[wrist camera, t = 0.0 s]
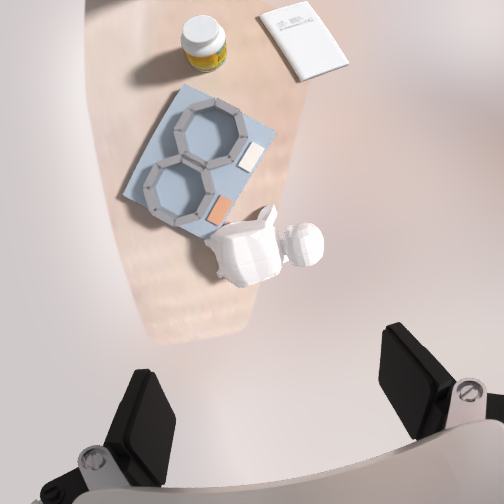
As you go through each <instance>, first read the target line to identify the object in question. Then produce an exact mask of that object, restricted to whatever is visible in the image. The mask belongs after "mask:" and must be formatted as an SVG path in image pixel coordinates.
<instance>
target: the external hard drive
mask: <svg viewBox="0 0 504 504" xmlns="http://www.w3.org/2000/svg"><path fill="white" fill-rule="evenodd" d="M259 18H260V20H261V21H262V22H263V24H264V25H265V27H266V28H267V30H268V31H269V33H270V34H271V35H272V37H273V38H274V40H275V41H276V43H277V45H278V46H279V48H280V49H281V51H282V52H283V54H284V55H285V57H286V58H287V60H288V62H289V63H290V65H291V66H292V68H293V70H294V71H295V73H296V75H297V76H298V78H299V80H300V81H301V82H303V81H306V80H308V79H312V78H315V77H317V76H320V75H323V74H325V73H328V72H331V71H334V70H337V69H339V68H342V67H345V66H347V65H349V62H348V60H347V59H346V57H345V55H344V54H343V52H342V51H341V49H340V47H339V46H338V44H337V43H336V41H335V40H334V38H333V37H332V35H331V34H330V32H329V31H328V29H327V28H326V27H325V25H324V24H323V22H322V21H321V19H320V18H319V17H318V15H317V14H316V13H315V11H314V10H313V9H312V7H311V6H310V5H309V3H308V2H307V1H303V2H300V3H297V4H293V5H289V6H286V7H282V8H279V9H276V10H273V11H269V12H266V13H263V14H261V15H260V16H259Z"/></svg>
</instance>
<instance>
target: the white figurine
mask: <svg viewBox="0 0 504 504" xmlns="http://www.w3.org/2000/svg"><path fill="white" fill-rule="evenodd" d="M276 216H277V211H276V209H275V206H274V205H269V206H265V207H264V208H263V209H262V210H261V211H260V214H259V215H258V218H257V220H253V221H242V222H241V221H237V222H233V223H230V224H227V225H225V226H223V227H221V228H220V229H217V230H216V231H215V232H214V233H213V234H211V236H210V237H211V239H205V240H204V242H205V245H206V246H209V247H210V248H211V249H212V251H213V252H214V253H215V256H216V259H217V262H218V265H219V269H218V271H217V272H216V273H217V275H218V277H219V278H222V277H223V276H224V277H226V280H228V281H229V282H231V283H233V284H234V285H235V286H237V287H239V288H240V287H241V288H245V287H247V286H250V285H252V284H255V283H258V282H260V281H265V280H267V279H268V278H271V277H273V276H276V275H277V274H279V272H280V270H281V268H282V265H283V263H285V262H287V261H288V260H290V262H291V263H292V265H294V266H301V267H302V266H303V267H305V266H310V265H313V264H315V263H316V262H317V261H318V260H320V258H321V257H322V256H323V251H324V239H323V236H322V234H321V232H320V230H319V229H318V228H317V227H316V226H315V225H313V224H310V223H300V224H297V225H289V226H288V227H287V228H286V230H285V232H284V240H283V238H282V237H281V235H280V233H279V232H278V231H277V230H276V229H275V228H274V226H272V225H273V223H274V220H275V218H276Z"/></svg>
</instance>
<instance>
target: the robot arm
mask: <svg viewBox="0 0 504 504" xmlns="http://www.w3.org/2000/svg"><path fill="white" fill-rule="evenodd" d="M378 379H379V384H380V386H381V388H382V390H383V391H384V393H385V395H386V396H387V398H388V400H389V401H390V403H391V404H392V406H393V408H394V409H395V411H396V413H397V415H398V416H399V418H400V420H401V421H402V423H403V425H404V427H405V428H406V430H407V432H408V434H409V435H410V437H411V438H412V439H416V440H417V441H416V442H414V443H411V444H409V445H406V446H404V447H401V448H399V449H396V450H393V451H390V452H388V453H385V454H382V455H380V456H377V457H374V458H371V459H368V460H365V461H362V462H358V463H355V464H352V465H348V466H345V467H341V468H337V469H333V470H329V471H325V472H321V473H317V474H312V475H308V476H303V477H298V478H293V479H287V480H281V481H275V482H268V483H260V484H251V485H241V486H229V487H211V488H162V487H161V485H164V484H165V482H166V476H167V470H168V464H169V458H170V452H171V447H172V441H173V436H174V430H175V425H176V417H175V414H174V412H173V410H172V408H171V406H170V404H169V402H168V400H167V398H166V396H165V394H164V392H163V390H162V388H161V386H160V384H159V381H158V379H157V377H156V375H155V373H154V372H151V371H150V370H149V369H138V370H135V371H134V373H133V376H132V378H131V380H130V382H129V385H128V387H127V390H126V392H125V394H124V397H123V399H122V401H121V402H120V404H119V406H118V409H117V412H116V414H115V416H114V419H113V421H112V424H111V426H110V429H109V432H108V434H107V437H106V439H105V442H104V444H103V446H100V445H93V446H90V447H88V448H86V449H84V450H83V451H82V452H81V454H80V455H79V457H78V466H79V467H77V468H76V469H74V470H72V471H70V472H68V473H66V474H64V475H62V476H60V477H58V478H56V479H54V480H52V481H50V482H48V483H47V484H45V485H44V486H43V488H42V489H41V492H40V498H41V500H40V501H38V500H35V501H34V502H32V503H31V504H504V395H499V394H491V393H487V390H486V387H485V385H484V384H483V383H482V382H481V381H479V380H477V379H474V378H465V379H461V380H459V381H458V382H456V381H455V379H454V378H453V377H452V376H451V375H450V374H449V373H448V372H447V370H446V369H445V368H444V367H443V366H442V365H441V364H440V363H439V362H438V360H436V358H435V357H434V356H433V355H432V354H431V353H430V352H429V351H428V350H427V349H426V348H425V347H424V346H422V345H421V344H420V343H419V341H418V340H417V339H416V338H415V337H414V336H413V335H412V334H411V333H410V332H409V331H408V330H407V329H406V328H405V327H404V326H403V325H402V324H401V323H400V322H397V323H394V324H391V325H388V326H386V329H385V330H383V332H382V344H381V357H380V368H379V378H378Z"/></svg>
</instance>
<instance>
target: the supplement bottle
mask: <svg viewBox="0 0 504 504" xmlns="http://www.w3.org/2000/svg"><path fill="white" fill-rule="evenodd" d="M181 45H182V48H183V50H184V52H185V54H186V56H187V58H188V60H189V63H190V64H191V66H192V67H193V68H195V69H196V70H198V71H202V72H210V71H214V70H216V69H218V68H219V67H220V66H222V65H223V64H224V62H225V60H226V56H227V51H226V37H225V32H224V30H223V28H222V27H221V26H220V25H219V24H218V23H217V21H216V20H215V19H214V18H212V17H210V16H207V15H199V16H195V17H193V18H191V19H189V20H188V21H187V22H186V23H185V25H184V27H183V33H182V36H181Z"/></svg>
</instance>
